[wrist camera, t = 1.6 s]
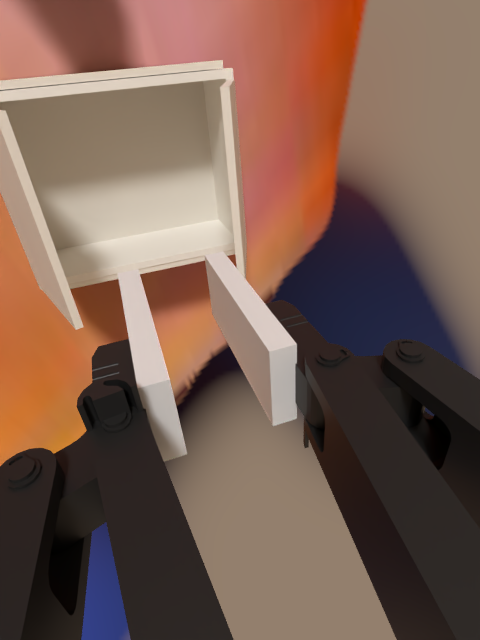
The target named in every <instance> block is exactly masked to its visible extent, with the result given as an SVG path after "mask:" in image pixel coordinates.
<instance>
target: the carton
mask: <svg viewBox="0 0 480 640" xmlns="http://www.w3.org/2000/svg"><path fill="white" fill-rule="evenodd" d="M220 68H223V60H217V61H207V62H196V63H185V64H174V65H164V66H153V67H142V68H131V69H121V70H110V71H99V72H88V73H77V74H67V75H56V76H45V77H34V78H24V79H13V80H2V81H0V110H5V111H6V113H7V116H8V119H9V122H10V124H11V127H12V130H13V133H14V135H15V138H16V141H17V144H18V147H19V149H20V152H21V155H22V158H23V160H24V163H25V166H26V169H27V171H28V174H29V177H30V180H31V183H32V185H33V188H34V191H35V194H36V196H37V199H38V202H39V205H40V207H41V210H42V213H43V216H44V219H45V221H46V224H47V227H48V230H49V232H50V235H51V238H52V241H53V244H54V246H55V249H56V252H57V255H58V257H59V260H60V263H61V266H62V268H63V271H64V274H65V277H66V280H67V282H68V285H69V288H70V289H73V288H78V287H83V286H87V285H92V284H97V283H101V282H106V281H111V280H116V279H118V273H122V272H127V271H131V270H136V269H138V270H139V273H140V274H144V273H149V272H153V271H158V270H163V269H167V268H172V267H177V266H182V265H186V264H191V263H196V262H200V261H205V256H204V255H208V254H213V253H218V252H222V251H223V252H224V253H225V254H226V256H229V255H233V254H235V244H234V233H233V222H232V211H231V200H230V189H229V178H228V168H227V157H226V146H225V135H224V124H223V113H222V102H221V91H220V87H221V86H222V85H223V84H224V83H225V82H226V81H227V80H234V78H233V68H225V69H220ZM39 287H40V286H39ZM40 289H41V288H40Z"/></svg>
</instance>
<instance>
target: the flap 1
mask: <svg viewBox="0 0 480 640" xmlns="http://www.w3.org/2000/svg"><path fill="white" fill-rule="evenodd" d="M0 192H1V195H2V197H3V199H4V202H5V204H6V207H7V209H8V212H9V214H10V217H11V219H12V222H13V224H14V226H15V229H16V231H17V234H18V236H19V239H20V241H21V244H22V246H23V248H24V251H25V253H26V256H27V258H28V261H29V263H30V266H31V268H32V270H33V273H34V275H35V278H36V280H37V283H38V285H39V286H40V288H41V289H42V290H43V291H44V292H45V294H46V295H47V296H48V297H49V298H50V300H51V301H52V302H53V303H54V304H55V305H56V307H57V308H58V309H59V310H60V311H61V313H62V314H63V315H64V316H65V317H66V319H67V320H68V321H69V322H70V323H71V324H72V326H73V327H74V328H75V329H76V330H77V329H79V328H82V327H83V324H82V321H81V318H80V316H79V313H78V310H77V307H76V305H75V302H74V299H73V296H72V293H71V291H70V288H69V285H68V282H67V280H66V277H65V274H64V271H63V268H62V266H61V263H60V260H59V257H58V255H57V252H56V249H55V246H54V244H53V241H52V238H51V235H50V232H49V230H48V227H47V224H46V221H45V219H44V216H43V213H42V210H41V207H40V205H39V202H38V199H37V196H36V194H35V191H34V188H33V185H32V183H31V180H30V177H29V174H28V171H27V169H26V166H25V163H24V160H23V158H22V155H21V152H20V149H19V147H18V144H17V141H16V138H15V135H14V133H13V130H12V127H11V124H10V122H9V119H8V116H7V113H6V111H5V110H0Z"/></svg>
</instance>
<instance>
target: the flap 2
mask: <svg viewBox="0 0 480 640" xmlns="http://www.w3.org/2000/svg"><path fill="white" fill-rule="evenodd" d="M220 91H221V102H222V113H223V124H224V135H225V146H226V157H227V168H228V178H229V189H230V200H231V211H232V222H233V233H234V244H235V255H236V266H237V269H238V271H239V272H240V273H241V274H242V276H243V277H244V278H245V279H246V250H247V240H246V227H245V213H244V200H243V186H242V172H241V159H240V145H239V132H238V118H237V104H236V91H235V80H227V81H226V82H225V83H224V84H223V85H222V86H221V87H220Z"/></svg>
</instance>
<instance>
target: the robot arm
mask: <svg viewBox="0 0 480 640" xmlns="http://www.w3.org/2000/svg"><path fill="white" fill-rule="evenodd" d="M204 256H205V263H206V271H207V278H208V285H209V292H210V299H211V307H212V314H213V316H214V318H215V320H216V322H217V324H218V326H219V327H220V329H221V331H222V333H223V335H224V337H225V339H226V340H227V342H228V344H229V346H230V348H231V350H232V352H233V353H234V355H235V357H236V359H237V361H238V362H239V364H240V366H241V368H242V370H243V372H244V374H245V376H246V377H247V379H248V381H249V383H250V385H251V387H252V389H253V390H254V392H255V394H256V396H257V398H258V400H259V402H260V403H261V405H262V407H263V409H264V411H265V413H266V414H267V416H268V418H269V420H270V422H271V424H272V426H275V425H278V424H281V423H284V422H288V421H290V420H294V419H297V406H298V407H299V409H300V410H301V412H302V413H303V415H304V446H305V448H307V447H308V440H310V443H311V445H312V447H313V450H314V452H315V454H316V456H317V459H318V461H319V463H320V465H321V468H322V470H323V472H324V474H325V477H326V479H327V481H328V484H329V486H330V488H331V491H332V493H333V495H334V497H335V500H336V502H337V504H338V506H339V509H340V511H341V513H342V515H343V518H344V520H345V523H346V525H347V527H348V529H349V532H350V534H351V536H352V538H353V541H354V543H355V545H356V547H357V550H358V552H359V554H360V557H361V559H362V561H363V564H364V566H365V568H366V570H367V573H368V575H369V577H370V580H371V582H372V584H373V586H374V589H375V591H376V593H377V595H378V598H379V600H380V602H381V604H382V607H383V609H384V611H385V614H386V616H387V618H388V621H389V623H390V625H391V627H392V629H393V632H394V634H395V637H396V639H397V640H480V380H479V379H478V378H476V377H475V376H473V375H472V374H470V373H469V372H467V371H466V370H464V369H463V368H461V367H459V366H458V365H457V364H455V363H453V362H452V361H450V360H449V359H447V358H446V357H444V356H443V355H441V354H440V353H438V352H437V351H435V350H434V349H432V348H431V347H429V346H427V345H425V344H423V343H421V342H418V341H414V340H407V339H406V340H405V339H400V340H395V341H391V342H390V343H388V344H387V345H386V346H385V348H384V351H383V355H382V356H354V354H353V353H352V352H350V351H349V350H348V349H347V348H345V347H343V346H340V345H336V344H330V343H328V342H327V341H326V340H325V339H324V338H323V337H322V336H321V335H320V334H319V333H318V331H317V330H316V329H315V328H314V327H313V326H312V325H311V324H310V323H309V322H307V319H305V317H304V316H303V315H301V313H300V312H299V311H298V310H297V309H296V307H295V306H293V305H291V304H289V303H287V302H285V301H283V300H280V301H276V302H272V303H268V304H265V303H264V302H263V301H262V300H261V298H260V297H259V296H258V295H257V293H256V292H255V291H254V289H253V288H252V287H251V286H250V284H249V283H248V282H247V281H246V279H245V278H244V277H243V276H242V274H241V273H240V272H239V271H238V269H237V268H236V267H235V266H234V264H233V263H232V262H231V261H230V259H229V258H228V257H227V256H226V254H225V253H224V252H223V251H222V252H218V253H213V254H208V255H204ZM118 279H119V285H120V290H121V296H122V302H123V308H124V313H125V319H126V325H127V331H128V337H129V339H127V340H123V341H119V342H115V343H111V344H107V345H103V346H99V347H98V348H97V350H96V352H95V353H94V355H93V357H92V379H93V381H92V382H93V383H92V384H90V385H89V386H88V387H87V388H86V389H84V390H83V391H82V393H81V394H80V396H79V397H78V401H77V408H78V411H79V413H80V415H81V418H82V420H83V422H84V425H85V427H86V429H87V431H86V432H85V434H84V435H82V436H81V437H80V438H79V439H78V440H77V441H75V442H74V443H72V444H71V445H69V446H67V447H65V448H64V449H62V450H60V451H58V452H56V453H55V454H53V453H52V452H51V451H50V450H47V449H44V448H34V449H29V450H26V451H23V452H20V453H18V454H16V455H14V456H13V457H11V458H10V459H8V460H6V461H5V462H4V463H3V464H2V465H1V466H0V640H81V636H82V626H83V616H84V606H85V595H86V586H87V576H88V566H89V556H90V546H91V536H92V531H93V530H95V529H96V528H98V527H99V526H101V525H102V524H104V523H105V522H107V527H108V532H109V536H110V542H111V546H112V551H113V556H114V561H115V566H116V570H117V575H118V580H119V585H120V590H121V595H122V599H123V604H124V609H125V614H126V618H127V623H128V628H129V633H130V638H131V640H233V637H232V634H231V632H230V629H229V627H228V624H227V622H226V619H225V617H224V614H223V612H222V609H221V606H220V604H219V601H218V599H217V596H216V594H215V591H214V589H213V586H212V583H211V581H210V578H209V576H208V573H207V571H206V568H205V566H204V563H203V561H202V558H201V555H200V553H199V550H198V548H197V545H196V543H195V540H194V538H193V535H192V533H191V530H190V528H189V525H188V522H187V520H186V517H185V515H184V512H183V509H182V507H181V504H180V502H179V499H178V497H177V494H176V492H175V489H174V486H173V484H172V481H171V479H170V476H169V474H168V471H167V469H166V466H165V463H164V461H167V460H171V459H174V458H177V457H180V456H183V455H186V454H187V451H186V446H185V442H184V438H183V434H182V429H181V426H180V421H179V417H178V413H177V408H176V404H175V400H174V396H173V391H172V387H171V383H170V379H169V375H168V372H167V368H166V365H165V361H164V358H163V354H162V351H161V347H160V344H159V340H158V336H157V333H156V329H155V326H154V322H153V319H152V315H151V312H150V308H149V305H148V301H147V298H146V294H145V291H144V287H143V284H142V280H141V277H140V273H139V270H138V269H136V270H131V271H127V272H122V273H118ZM425 407H426V408H427V409H428V410H430V411H431V412H432V413H433V414H434V416H431V415H430V414H428V413H427V412H425V411H424V410H425Z"/></svg>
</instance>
